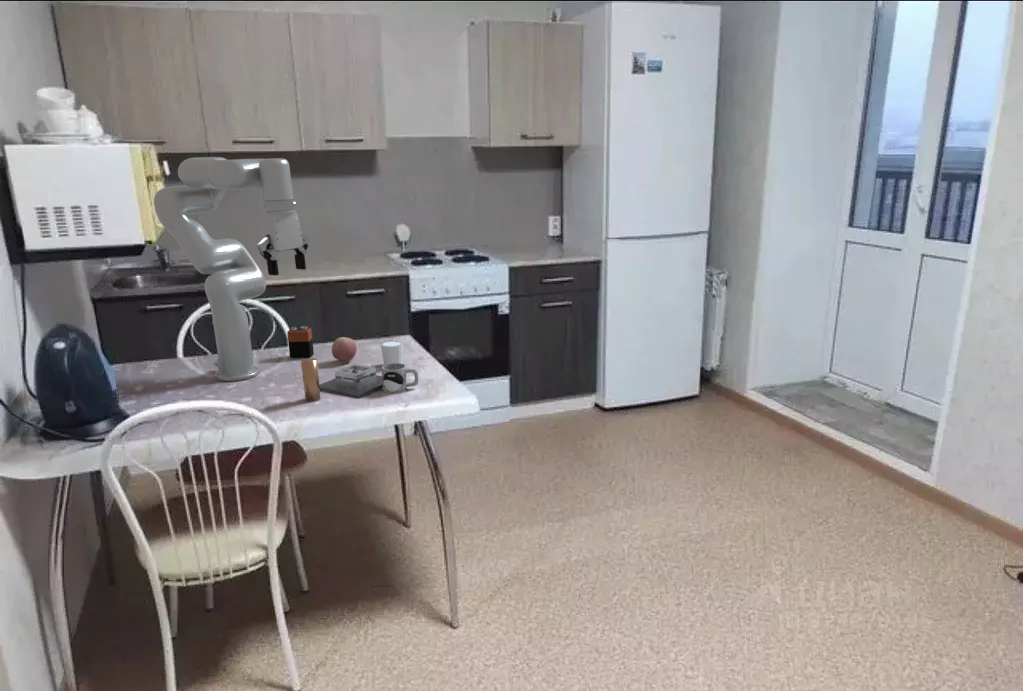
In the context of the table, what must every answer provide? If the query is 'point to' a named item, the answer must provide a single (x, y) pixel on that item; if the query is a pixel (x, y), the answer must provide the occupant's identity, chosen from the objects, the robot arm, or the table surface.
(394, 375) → the mug
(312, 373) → the tube
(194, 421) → the table surface
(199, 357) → the table surface
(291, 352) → the battery
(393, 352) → the shot glass
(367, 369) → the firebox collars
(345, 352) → the apple
